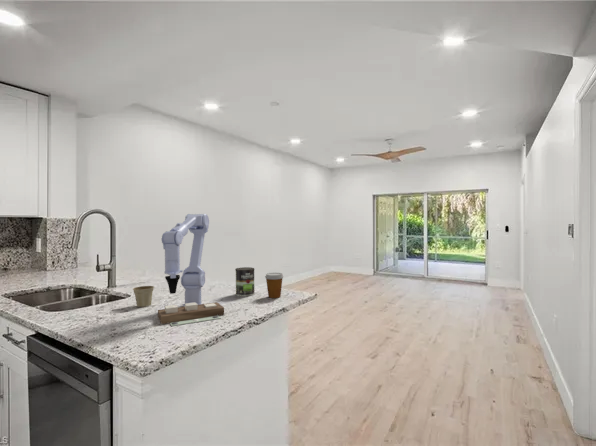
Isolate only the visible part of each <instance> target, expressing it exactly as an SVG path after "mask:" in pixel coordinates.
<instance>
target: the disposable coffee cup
mask: <svg viewBox="0 0 596 446" xmlns="http://www.w3.org/2000/svg"><path fill="white" fill-rule="evenodd" d="M264 277H265V279H266V280H265V281H266V287H267V295H268V298H270V299H279V298H281V296H282V295H281V294H282V287H283V286H282V285H283V278H284V275H283V273H281V272H268V273H265V276H264Z"/></svg>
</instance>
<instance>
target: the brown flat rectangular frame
mask: <svg viewBox="0 0 596 446" xmlns="http://www.w3.org/2000/svg"><path fill="white" fill-rule="evenodd" d="M211 303H212V302H209V303H208V302H207V303H206V304H211ZM213 303H214V304H216V305H217V307H212V308H205V307H204V304H205V303H201V304H200V305H198V309H197V310H190V311H186V310H185V307H184V306H179V307H178V306H177V307H178V312H176V313H169V314H165V308H163V309H158V310H157V318H158V320H159V322H160V324H161V325H164V324H170V323H172V322H179V321H185V320H192V319H198V318H205V317H211V316H224V315H225V307H224V306H223V305H222V304H220V303H219V302H213Z"/></svg>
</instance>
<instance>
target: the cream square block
mask: <svg viewBox="0 0 596 446" xmlns="http://www.w3.org/2000/svg"><path fill="white" fill-rule="evenodd" d="M164 309H165V314H169V313H176V312H178V306H177V305H176V304H172V305H165V306H164Z"/></svg>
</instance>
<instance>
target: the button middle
mask: <svg viewBox="0 0 596 446" xmlns="http://www.w3.org/2000/svg"><path fill="white" fill-rule="evenodd" d="M184 304H185V303H184ZM197 309H198V304H197V303H196V302H194V303H186V304H185V310H186V311H190V310H197Z"/></svg>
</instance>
